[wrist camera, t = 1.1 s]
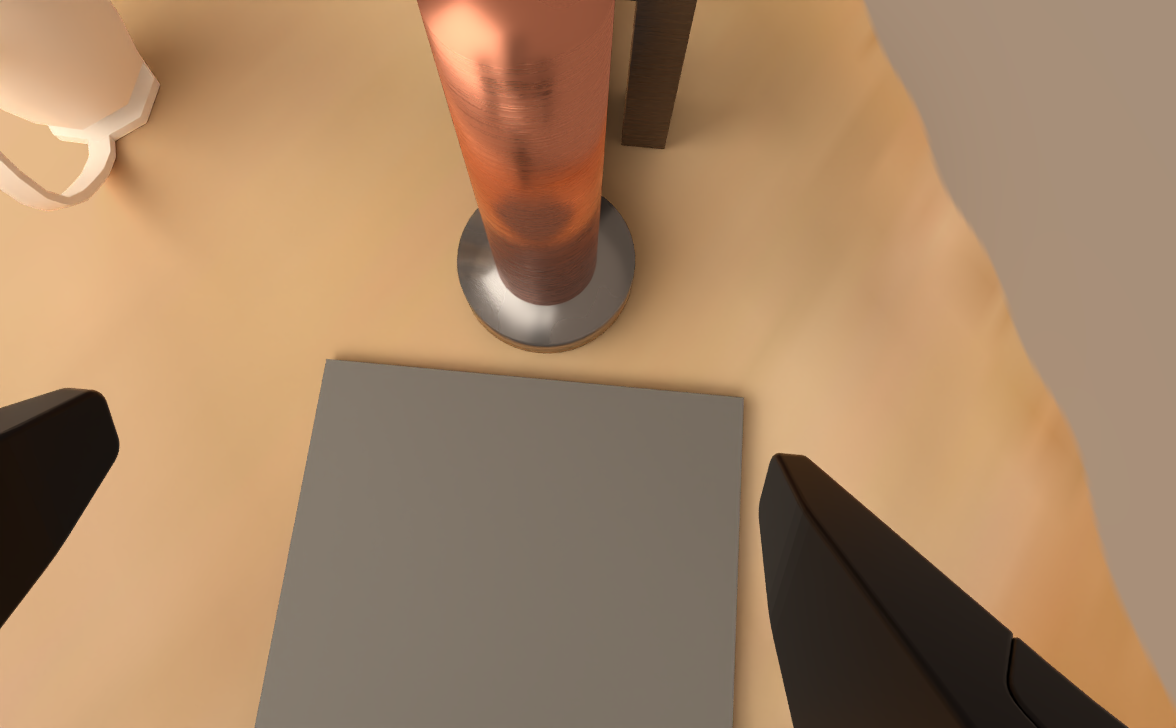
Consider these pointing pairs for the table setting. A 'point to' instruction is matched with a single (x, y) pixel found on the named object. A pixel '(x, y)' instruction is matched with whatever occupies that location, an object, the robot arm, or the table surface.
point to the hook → (534, 166)
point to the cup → (71, 87)
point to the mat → (509, 556)
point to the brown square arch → (655, 69)
